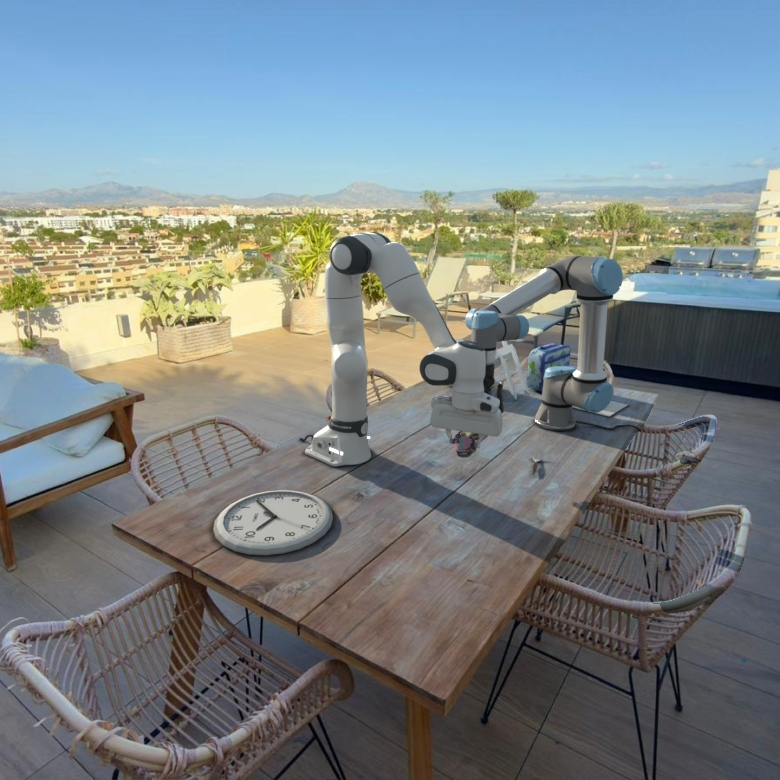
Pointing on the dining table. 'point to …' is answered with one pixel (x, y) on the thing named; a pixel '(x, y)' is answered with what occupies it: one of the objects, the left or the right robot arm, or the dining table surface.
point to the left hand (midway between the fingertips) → (464, 445)
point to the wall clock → (273, 522)
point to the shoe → (465, 443)
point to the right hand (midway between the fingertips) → (477, 431)
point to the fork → (536, 461)
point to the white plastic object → (502, 357)
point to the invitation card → (610, 408)
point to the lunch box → (545, 363)
